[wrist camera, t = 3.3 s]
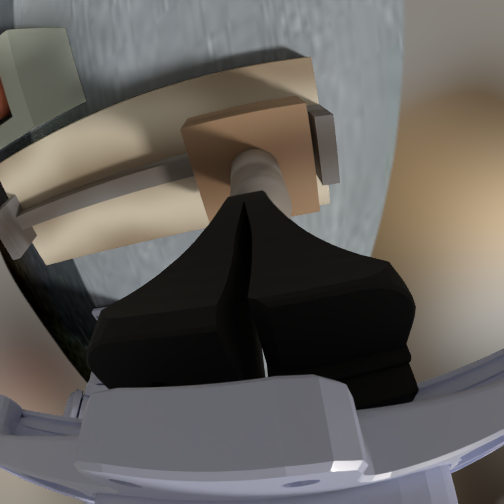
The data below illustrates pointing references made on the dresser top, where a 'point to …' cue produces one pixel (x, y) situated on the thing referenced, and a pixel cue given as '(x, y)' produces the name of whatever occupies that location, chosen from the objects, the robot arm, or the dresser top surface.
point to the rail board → (140, 164)
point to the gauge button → (3, 103)
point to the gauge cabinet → (36, 79)
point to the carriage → (254, 155)
